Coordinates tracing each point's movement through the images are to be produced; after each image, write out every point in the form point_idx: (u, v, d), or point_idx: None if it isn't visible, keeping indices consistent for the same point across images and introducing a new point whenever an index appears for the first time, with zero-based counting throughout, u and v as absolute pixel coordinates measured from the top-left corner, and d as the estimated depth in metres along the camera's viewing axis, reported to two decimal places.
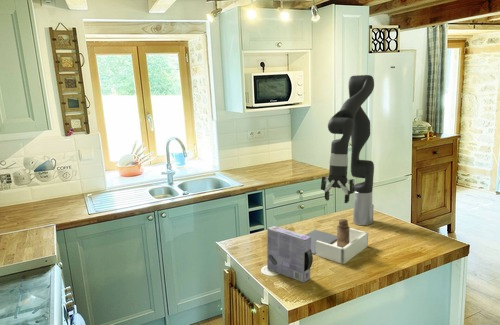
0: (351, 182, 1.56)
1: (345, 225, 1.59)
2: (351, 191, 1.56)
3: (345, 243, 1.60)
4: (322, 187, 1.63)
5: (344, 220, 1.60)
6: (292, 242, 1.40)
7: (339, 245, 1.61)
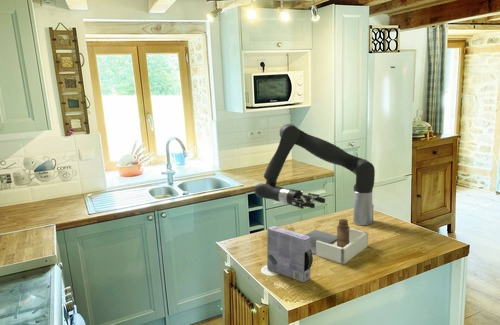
0: (294, 205, 1.69)
1: (345, 225, 1.59)
2: None
3: (345, 243, 1.60)
4: None
5: (344, 220, 1.60)
6: (292, 242, 1.40)
7: (339, 245, 1.61)
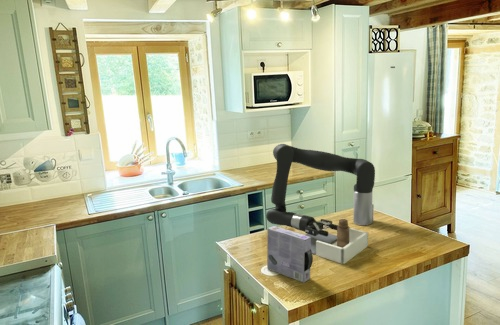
0: (307, 233, 1.67)
1: (345, 225, 1.59)
2: None
3: (345, 243, 1.60)
4: None
5: (344, 220, 1.60)
6: (292, 242, 1.40)
7: (339, 245, 1.61)
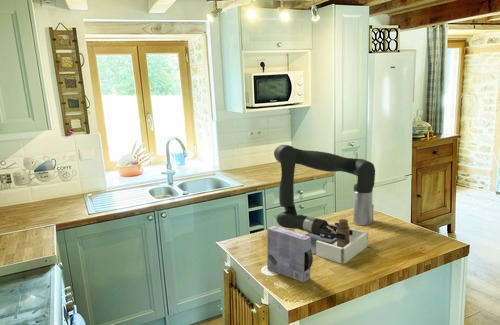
0: None
1: (345, 225, 1.59)
2: None
3: (345, 243, 1.60)
4: None
5: (344, 220, 1.60)
6: (292, 242, 1.40)
7: (339, 245, 1.61)
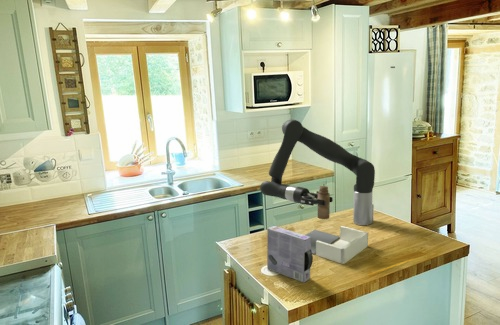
0: (303, 203, 1.65)
1: (325, 191, 1.62)
2: (311, 204, 1.63)
3: (325, 209, 1.63)
4: None
5: (324, 187, 1.64)
6: (292, 242, 1.40)
7: (319, 211, 1.64)
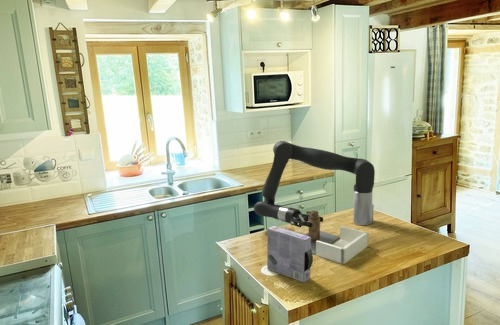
0: (292, 224, 1.72)
1: (316, 216, 1.69)
2: None
3: (315, 233, 1.70)
4: None
5: (315, 211, 1.70)
6: (292, 242, 1.40)
7: (310, 235, 1.71)
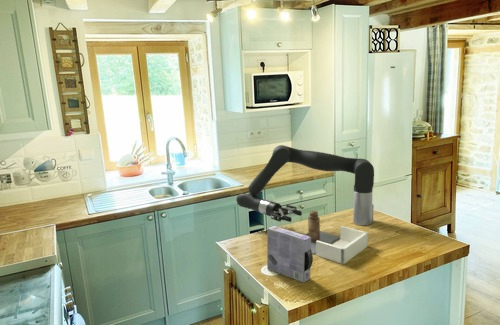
0: None
1: (315, 216, 1.69)
2: None
3: (315, 233, 1.70)
4: None
5: (314, 211, 1.70)
6: (292, 242, 1.40)
7: (310, 235, 1.71)
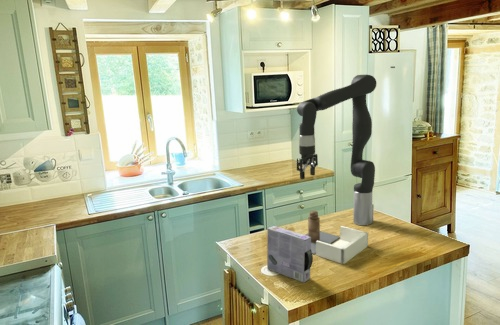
0: None
1: (315, 216, 1.69)
2: None
3: (315, 233, 1.70)
4: None
5: (314, 211, 1.70)
6: (292, 242, 1.40)
7: (310, 235, 1.71)
